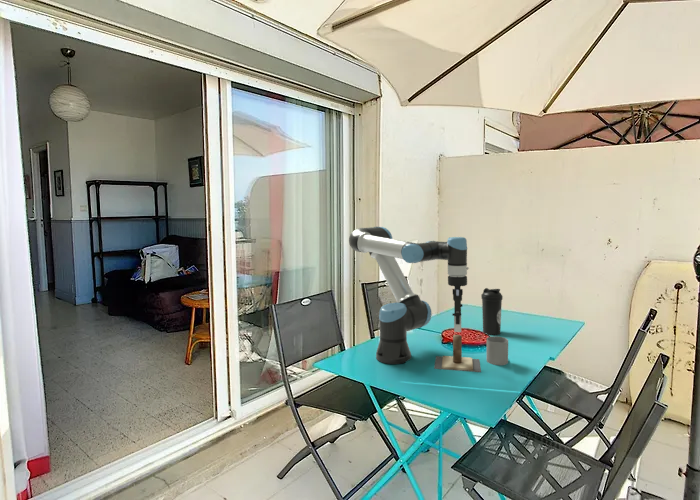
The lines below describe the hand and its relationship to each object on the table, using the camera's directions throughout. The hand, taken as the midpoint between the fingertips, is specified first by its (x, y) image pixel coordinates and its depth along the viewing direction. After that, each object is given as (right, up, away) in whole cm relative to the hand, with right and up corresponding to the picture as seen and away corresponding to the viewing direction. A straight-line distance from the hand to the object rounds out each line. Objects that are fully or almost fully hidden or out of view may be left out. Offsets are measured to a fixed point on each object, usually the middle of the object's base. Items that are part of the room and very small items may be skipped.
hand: (457, 326), depth 162 cm
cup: (+17, -16, +3) cm, 24 cm away
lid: (0, -16, +2) cm, 16 cm away
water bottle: (+29, -12, +43) cm, 54 cm away
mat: (0, -16, +2) cm, 16 cm away
